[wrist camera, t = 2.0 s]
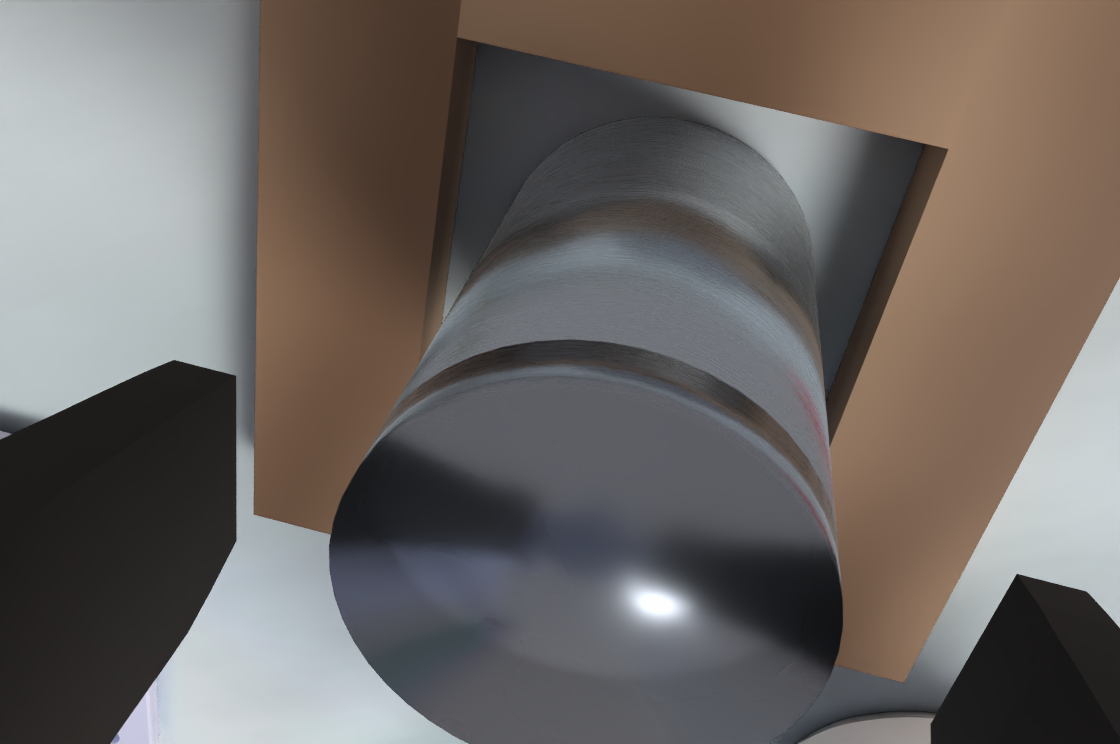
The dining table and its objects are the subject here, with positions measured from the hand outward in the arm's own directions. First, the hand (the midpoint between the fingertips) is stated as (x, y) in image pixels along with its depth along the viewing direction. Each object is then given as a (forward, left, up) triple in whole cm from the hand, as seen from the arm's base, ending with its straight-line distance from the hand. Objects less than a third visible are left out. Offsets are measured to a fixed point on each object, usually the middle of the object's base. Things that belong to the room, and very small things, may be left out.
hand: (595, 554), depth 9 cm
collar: (0, 0, -6) cm, 6 cm away
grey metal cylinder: (0, 0, -6) cm, 6 cm away
